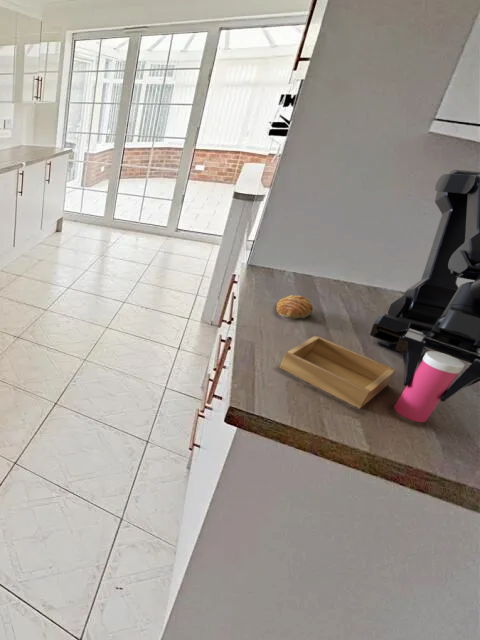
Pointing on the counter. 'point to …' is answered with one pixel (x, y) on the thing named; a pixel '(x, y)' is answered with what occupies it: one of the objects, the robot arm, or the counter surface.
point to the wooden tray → (337, 370)
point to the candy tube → (428, 385)
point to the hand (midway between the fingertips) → (423, 392)
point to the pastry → (294, 307)
